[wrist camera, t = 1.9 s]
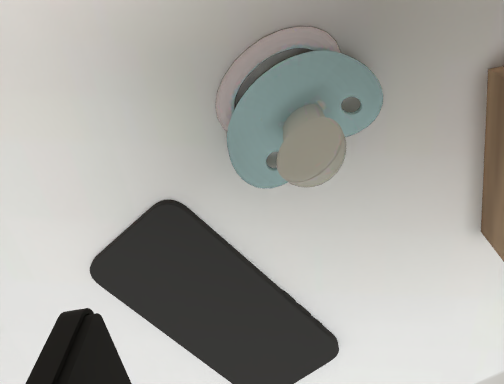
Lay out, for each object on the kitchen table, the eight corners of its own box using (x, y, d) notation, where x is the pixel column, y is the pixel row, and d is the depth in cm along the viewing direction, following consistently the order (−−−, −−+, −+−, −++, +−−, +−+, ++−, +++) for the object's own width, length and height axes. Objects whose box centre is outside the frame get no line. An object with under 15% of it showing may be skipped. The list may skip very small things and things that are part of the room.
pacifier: (188, 95, 23) (266, 184, 25) (163, 141, 17) (266, 252, 19) (314, -9, 20) (388, 98, 22) (332, 4, 15) (429, 146, 17)
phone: (168, 194, 24) (347, 351, 29) (171, 186, 25) (345, 341, 30) (80, 272, 27) (259, 405, 32) (84, 263, 28) (259, 394, 33)
